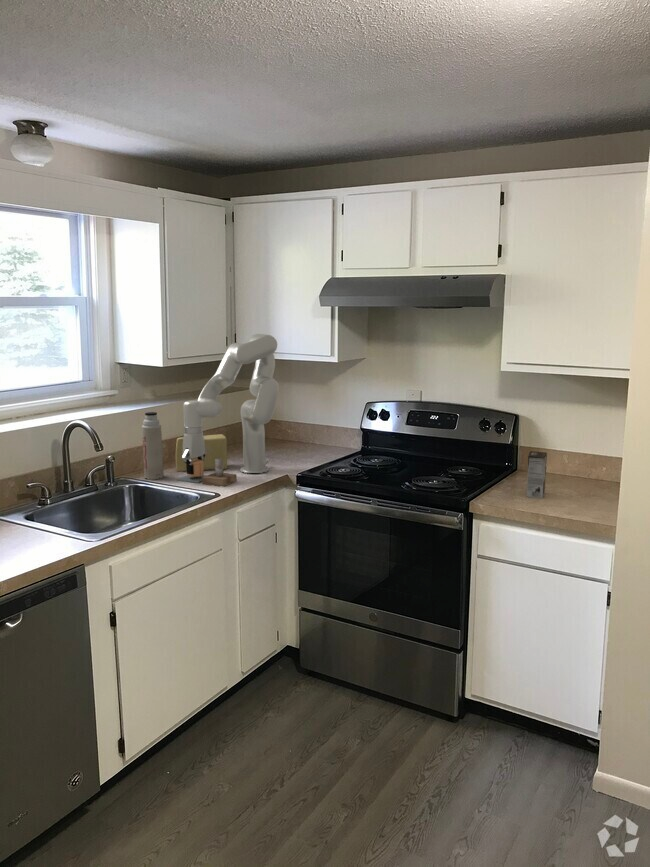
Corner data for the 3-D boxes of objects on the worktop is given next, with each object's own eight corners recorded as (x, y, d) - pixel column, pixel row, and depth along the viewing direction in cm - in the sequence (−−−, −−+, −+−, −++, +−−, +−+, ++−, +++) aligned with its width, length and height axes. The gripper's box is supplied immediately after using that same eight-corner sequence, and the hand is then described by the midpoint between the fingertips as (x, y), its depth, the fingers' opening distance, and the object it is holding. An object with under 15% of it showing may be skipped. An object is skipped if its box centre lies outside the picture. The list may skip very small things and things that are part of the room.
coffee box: (528, 491, 282) (530, 450, 279) (545, 492, 279) (547, 452, 277) (525, 497, 273) (527, 455, 271) (543, 498, 271) (545, 456, 268)
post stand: (216, 478, 304) (215, 455, 303) (236, 481, 300) (235, 457, 298) (202, 484, 296) (201, 460, 294) (222, 486, 291) (222, 462, 289)
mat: (192, 474, 312) (192, 473, 311) (213, 477, 307) (213, 476, 307) (176, 480, 302) (176, 479, 302) (198, 483, 297) (198, 481, 297)
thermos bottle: (145, 480, 303) (142, 414, 298) (143, 476, 310) (139, 411, 305) (164, 478, 306) (161, 413, 300) (162, 474, 313) (159, 410, 308)
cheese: (177, 473, 314) (176, 440, 312) (174, 469, 323) (173, 436, 321) (228, 469, 321) (227, 436, 319) (223, 465, 330) (222, 432, 328)
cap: (206, 474, 305) (206, 460, 304) (197, 477, 300) (197, 463, 299) (193, 472, 308) (193, 458, 307) (185, 475, 302) (184, 461, 301)
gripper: (198, 426, 310) (200, 467, 313) (173, 433, 295) (175, 475, 298) (213, 427, 307) (214, 468, 310) (188, 434, 291) (190, 477, 295)
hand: (195, 471), depth 304 cm, fingers closed on cap, 6 cm apart
